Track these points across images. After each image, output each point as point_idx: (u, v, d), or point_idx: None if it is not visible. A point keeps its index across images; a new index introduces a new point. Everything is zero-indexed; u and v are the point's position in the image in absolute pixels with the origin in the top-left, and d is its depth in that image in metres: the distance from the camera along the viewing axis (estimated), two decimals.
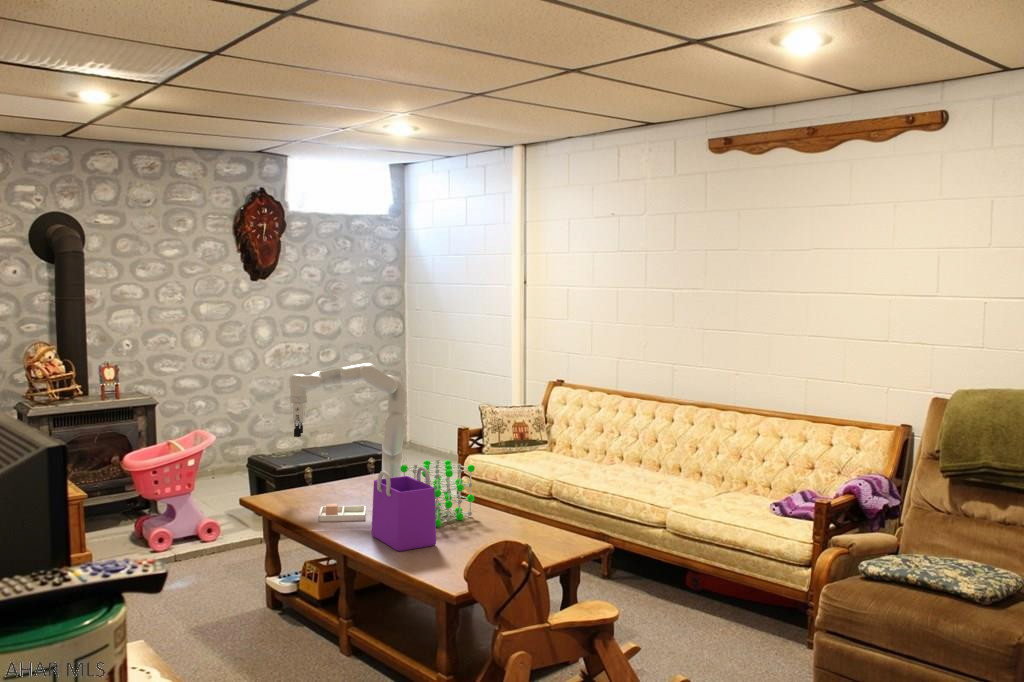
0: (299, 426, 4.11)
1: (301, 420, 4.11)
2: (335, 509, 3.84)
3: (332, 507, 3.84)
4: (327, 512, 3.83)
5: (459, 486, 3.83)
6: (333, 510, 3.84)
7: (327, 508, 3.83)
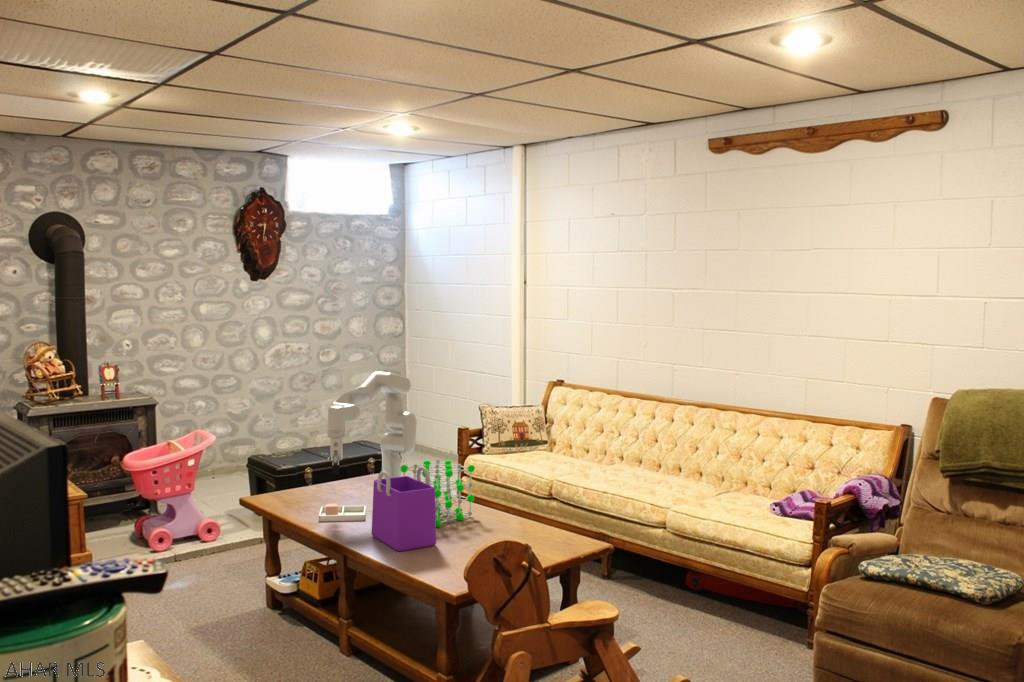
0: (338, 463, 3.79)
1: (340, 456, 3.80)
2: (335, 509, 3.84)
3: (332, 507, 3.84)
4: (327, 512, 3.83)
5: (459, 486, 3.83)
6: (333, 510, 3.84)
7: (327, 508, 3.83)
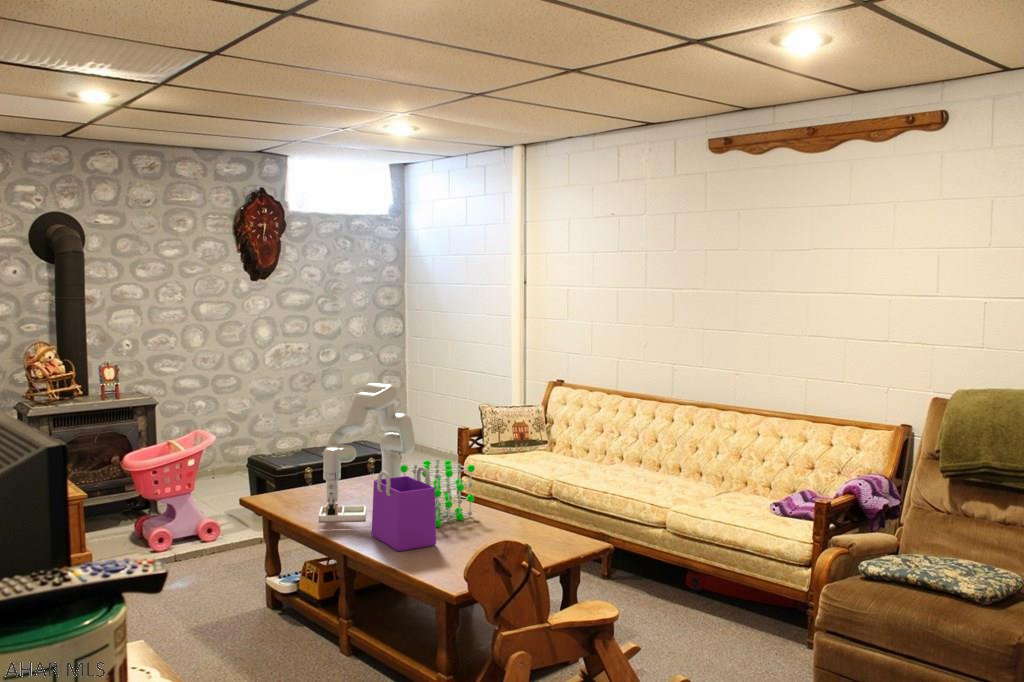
0: (333, 507, 3.82)
1: (335, 498, 3.81)
2: (335, 509, 3.84)
3: None
4: (327, 512, 3.83)
5: (459, 486, 3.83)
6: None
7: (327, 508, 3.83)
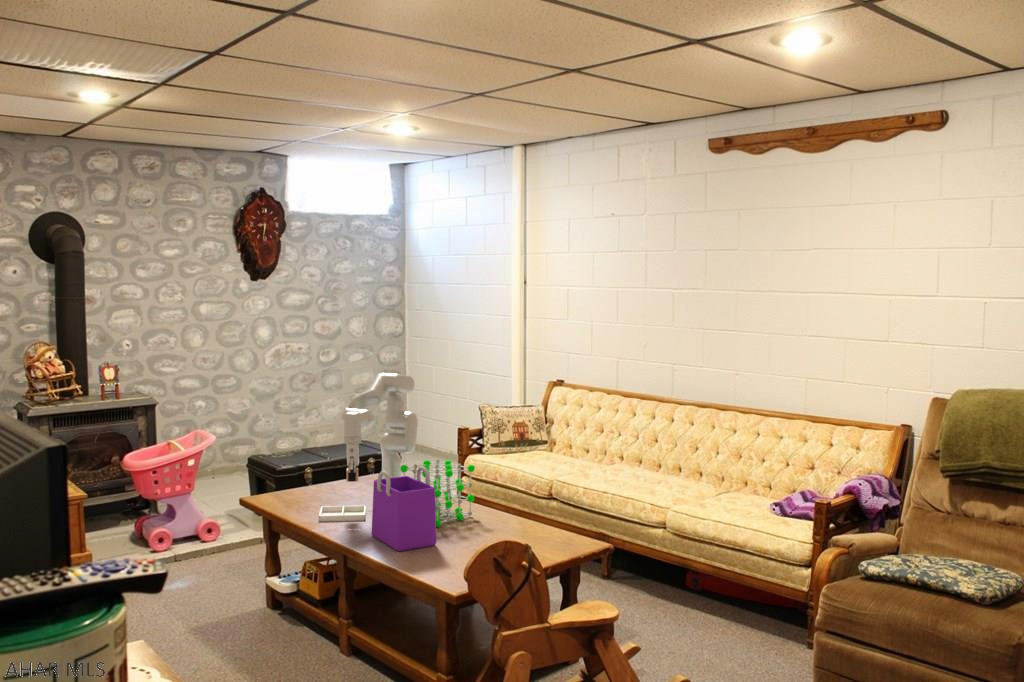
0: (354, 470, 3.82)
1: (356, 462, 3.81)
2: None
3: None
4: (347, 476, 3.84)
5: (459, 486, 3.83)
6: None
7: (347, 472, 3.84)
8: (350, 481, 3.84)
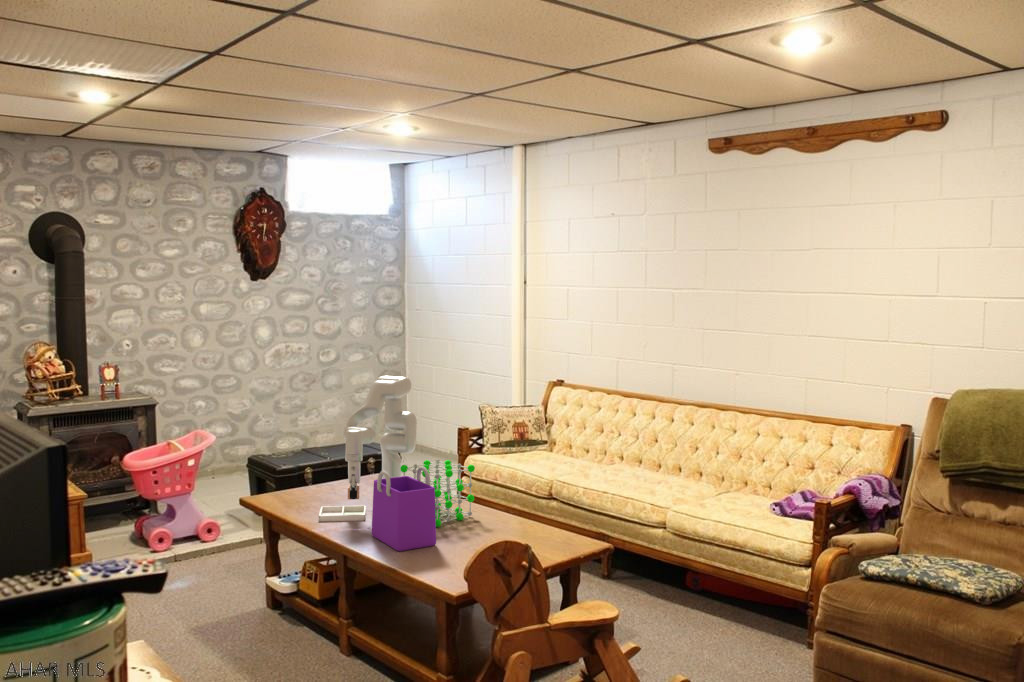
0: (355, 488, 3.83)
1: (357, 480, 3.82)
2: (357, 491, 3.84)
3: None
4: (349, 493, 3.84)
5: (459, 486, 3.83)
6: None
7: (349, 490, 3.84)
8: None
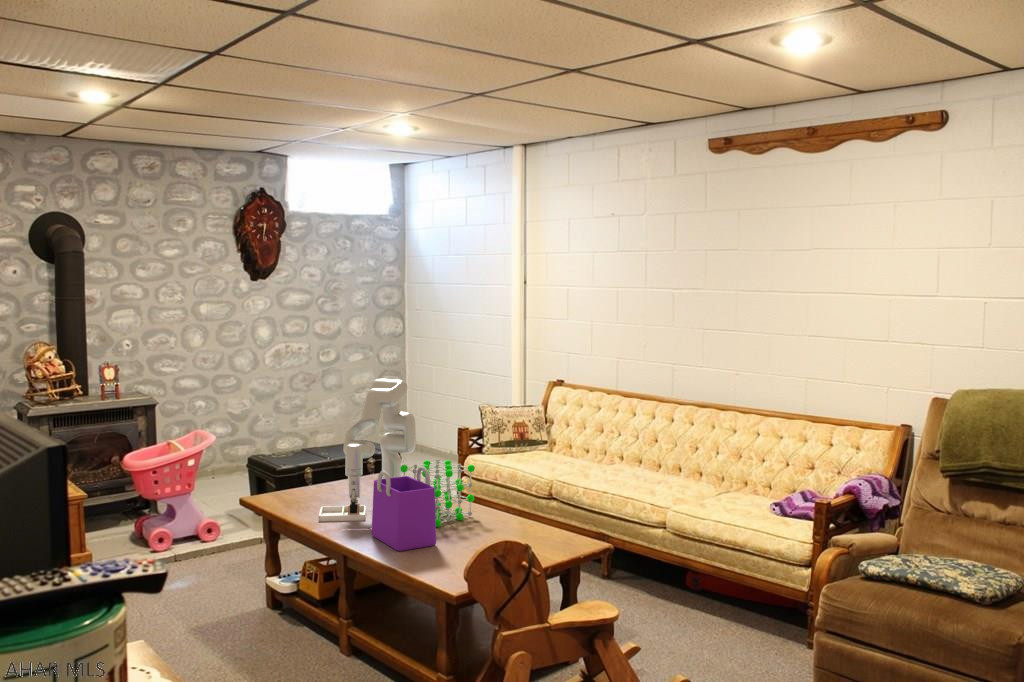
0: (355, 502, 3.83)
1: (357, 494, 3.82)
2: (357, 509, 3.85)
3: None
4: (349, 511, 3.85)
5: (459, 486, 3.83)
6: None
7: (349, 507, 3.85)
8: None
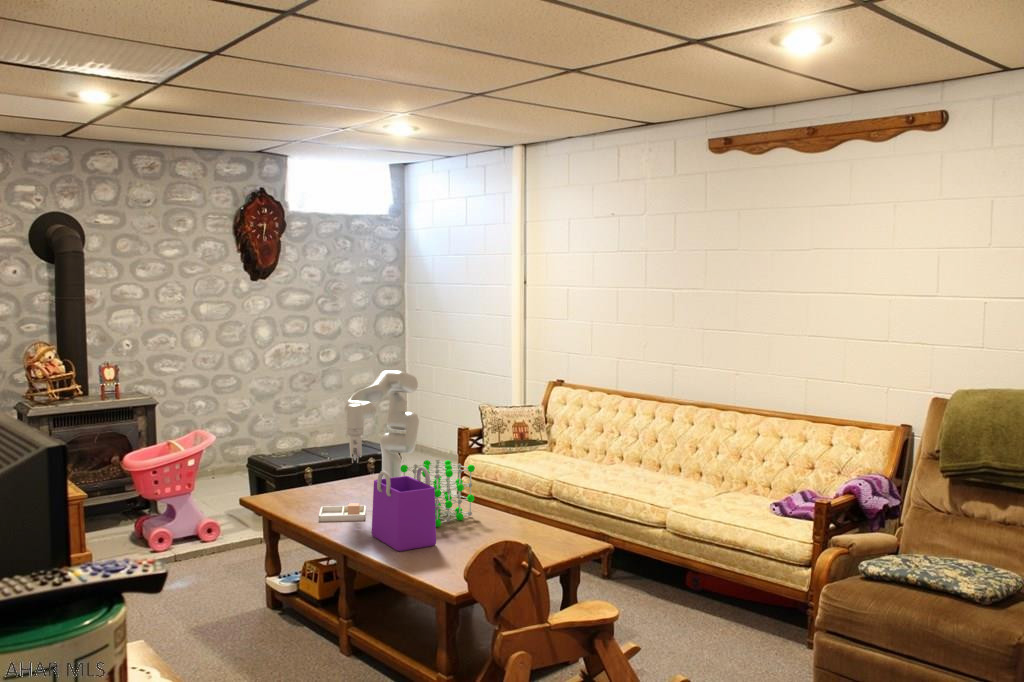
0: (357, 460, 3.84)
1: (359, 454, 3.84)
2: (357, 509, 3.85)
3: (354, 507, 3.85)
4: (349, 511, 3.85)
5: (459, 486, 3.83)
6: (355, 510, 3.85)
7: (349, 507, 3.85)
8: None
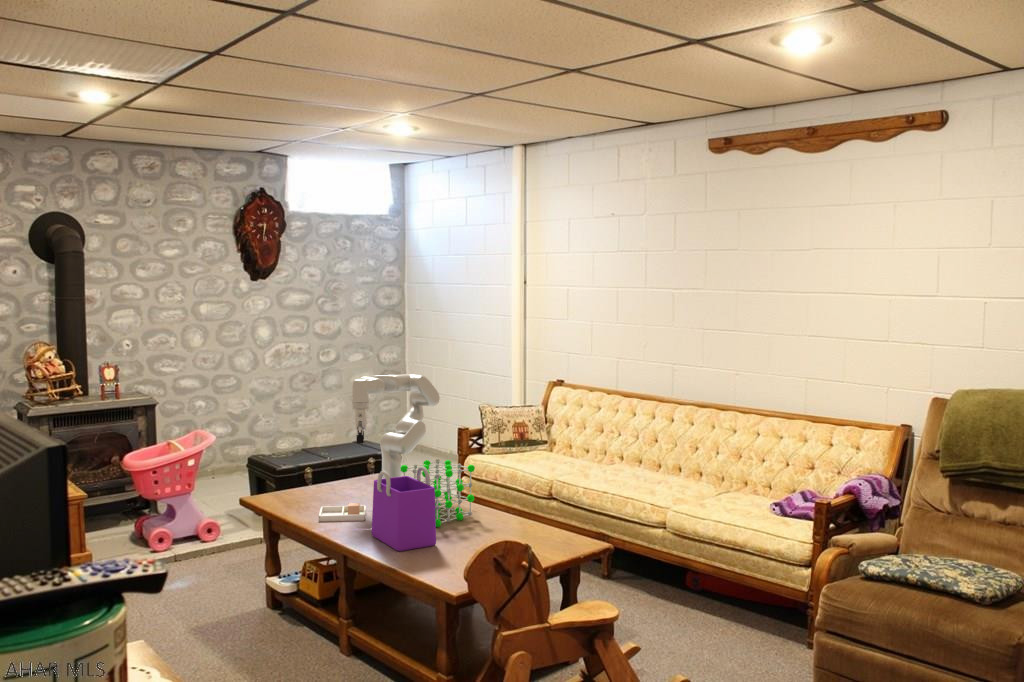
0: (362, 432, 4.01)
1: (364, 426, 4.01)
2: (357, 509, 3.85)
3: (354, 507, 3.85)
4: (349, 511, 3.85)
5: (459, 486, 3.83)
6: (355, 510, 3.85)
7: (349, 507, 3.85)
8: None
